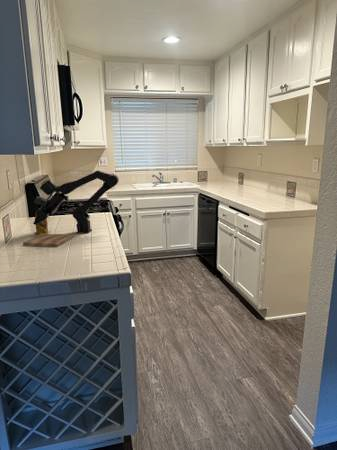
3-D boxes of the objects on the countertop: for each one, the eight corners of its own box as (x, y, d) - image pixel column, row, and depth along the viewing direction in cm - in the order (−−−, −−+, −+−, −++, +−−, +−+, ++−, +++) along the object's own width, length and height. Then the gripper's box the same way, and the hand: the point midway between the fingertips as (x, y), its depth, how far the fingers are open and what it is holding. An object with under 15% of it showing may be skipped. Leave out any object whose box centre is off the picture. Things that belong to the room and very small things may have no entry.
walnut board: (73, 237, 163) (73, 234, 162) (57, 246, 147) (56, 243, 147) (42, 236, 166) (42, 233, 166) (23, 245, 151) (23, 242, 151)
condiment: (47, 235, 169) (44, 213, 166) (31, 236, 168) (28, 214, 165) (50, 231, 176) (47, 210, 173) (34, 232, 175) (32, 211, 172)
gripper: (48, 189, 175) (30, 208, 177) (37, 193, 157) (17, 216, 159) (64, 202, 178) (46, 221, 180) (54, 208, 160) (35, 230, 162)
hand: (36, 222), depth 170 cm, fingers open, 9 cm apart
